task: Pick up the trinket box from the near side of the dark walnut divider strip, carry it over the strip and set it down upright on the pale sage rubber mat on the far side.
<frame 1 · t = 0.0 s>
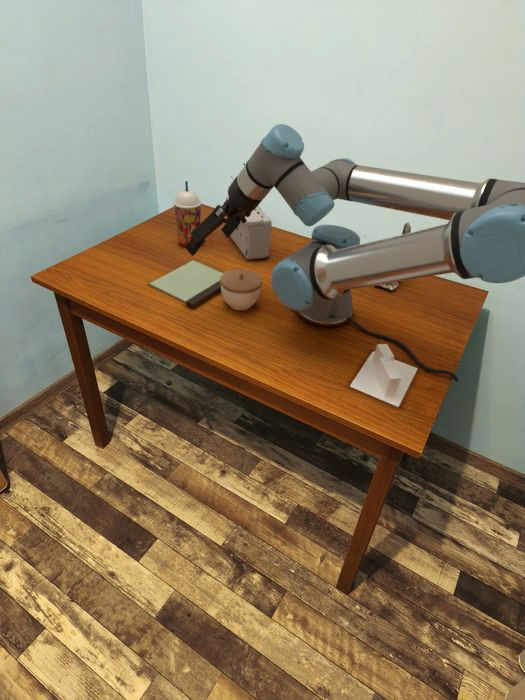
hand: (207, 242, 117), 15 cm above the table, tool tilted 35°, fingers open, 13 cm apart
plant with pod: (386, 282, 137), on the table
napkin holder: (384, 377, 104), on the table
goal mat: (190, 280, 130), on the table
radio: (246, 246, 149), on the table
trinket box: (240, 304, 123), on the table
smoothie: (189, 243, 148), on the table
divider: (214, 292, 127), on the table
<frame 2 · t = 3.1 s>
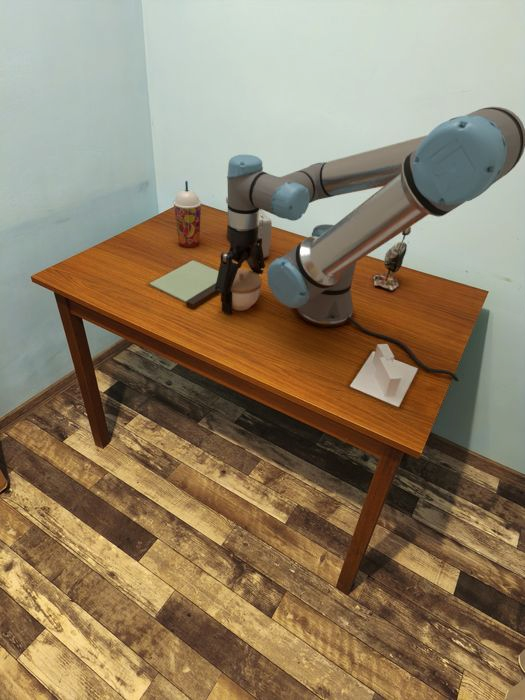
hand: (240, 302, 123), 0 cm above the table, tool pointing down, fingers closed on trinket box, 11 cm apart
trinket box: (240, 304, 123), on the table, touching gripper
everything else where it was.
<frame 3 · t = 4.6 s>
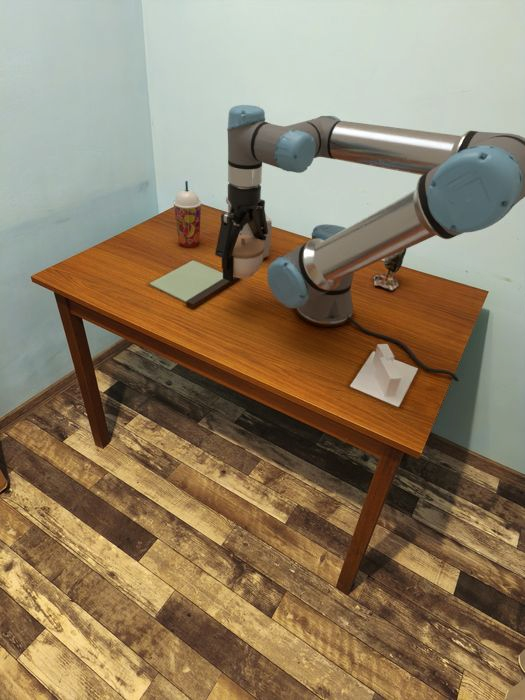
hand: (242, 270, 116), 10 cm above the table, tool pointing down, fingers closed on trinket box, 11 cm apart
trinket box: (242, 273, 117), point 10 cm above the table, touching gripper
everything else where it was.
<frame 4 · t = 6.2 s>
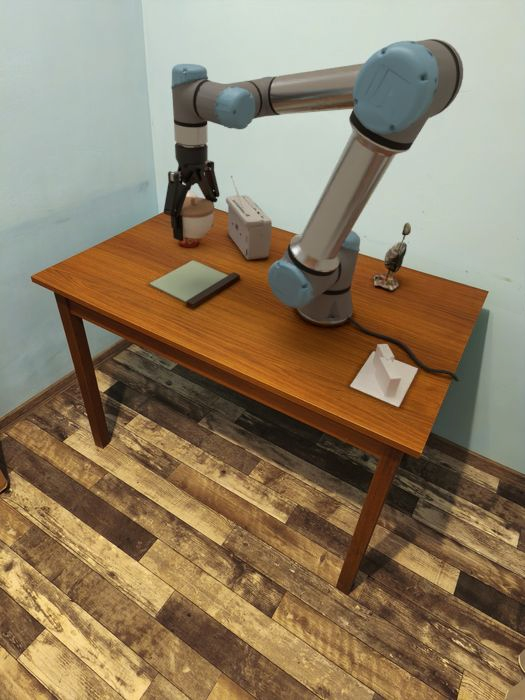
hand: (193, 231, 120), 16 cm above the table, tool pointing down, fingers closed on trinket box, 11 cm apart
trinket box: (193, 234, 120), point 15 cm above the table, touching gripper
everything else where it was.
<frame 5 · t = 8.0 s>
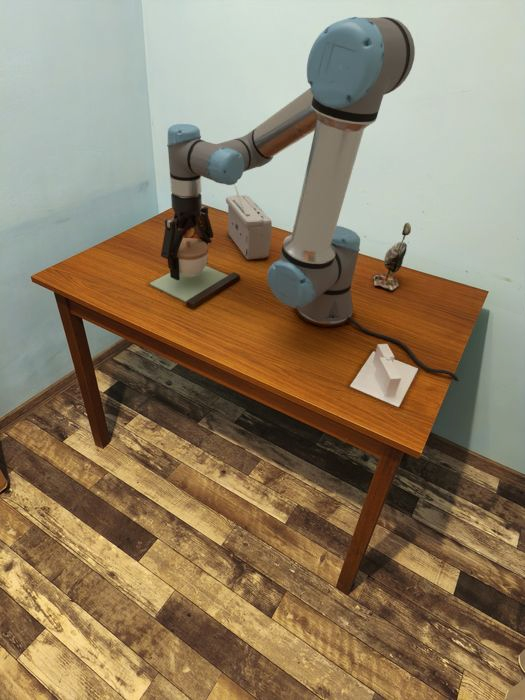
hand: (189, 270, 128), 3 cm above the table, tool pointing down, fingers closed on trinket box, 11 cm apart
trinket box: (189, 272, 129), point 3 cm above the table, touching gripper
everything else where it was.
when the fingers open (1 cm above the table, at t = 9.4 s): trinket box stays where it is, resting on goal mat.
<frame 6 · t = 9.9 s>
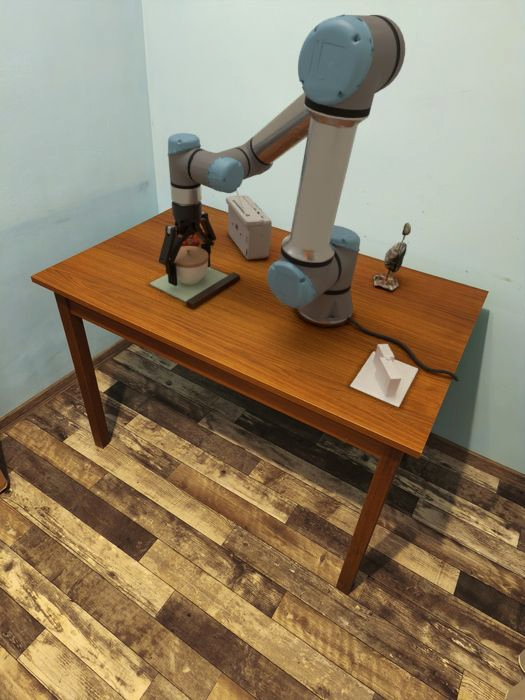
hand: (190, 274, 129), 2 cm above the table, tool pointing down, fingers open, 13 cm apart
trinket box: (189, 279, 130), resting on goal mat
everything else where it was.
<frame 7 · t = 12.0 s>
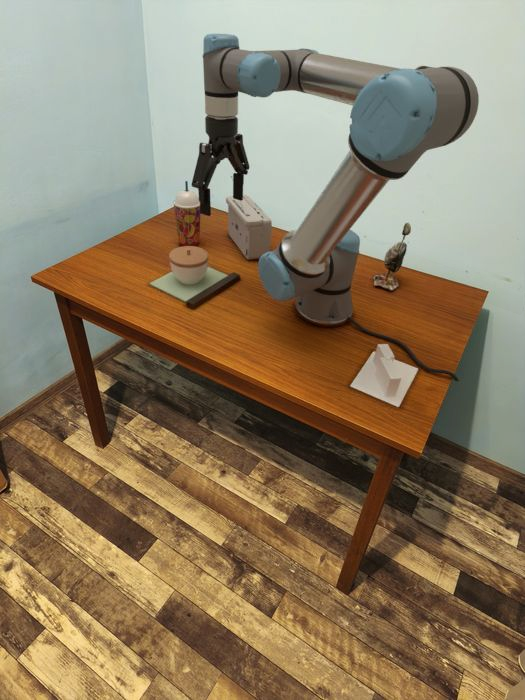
hand: (222, 206, 118), 22 cm above the table, tool pointing down, fingers open, 13 cm apart
nothing on the table moved.
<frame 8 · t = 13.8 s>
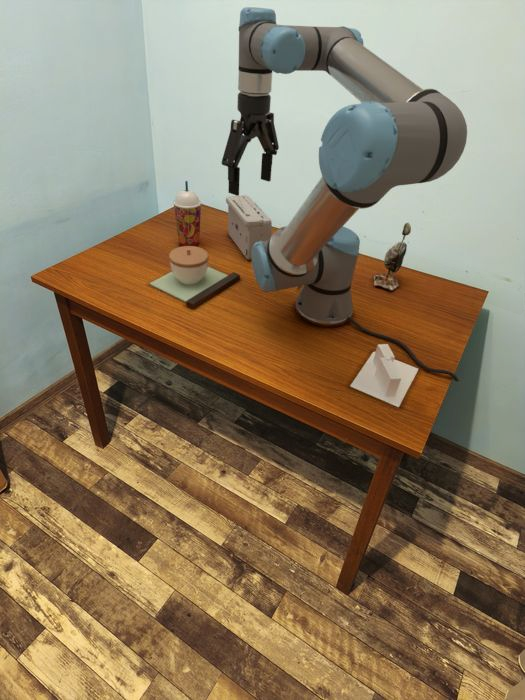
hand: (250, 186, 117), 27 cm above the table, tool pointing down, fingers open, 13 cm apart
nothing on the table moved.
at the end: trinket box inside the target area (0.1 cm from its centre), resting on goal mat; trinket box tilted 0°; the gripper is holding nothing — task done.
